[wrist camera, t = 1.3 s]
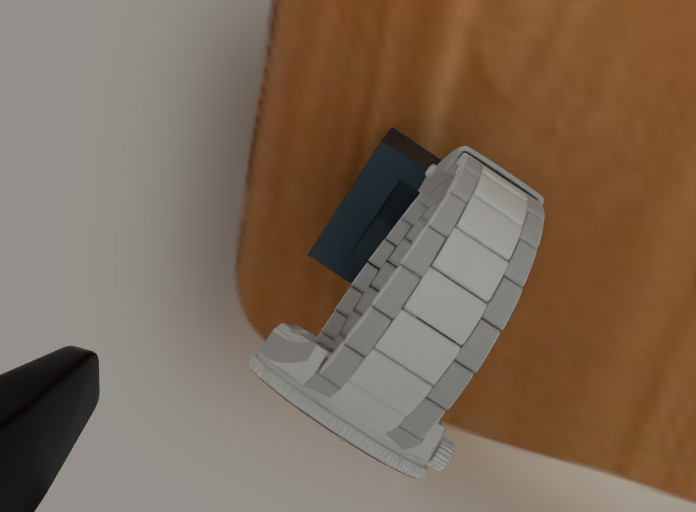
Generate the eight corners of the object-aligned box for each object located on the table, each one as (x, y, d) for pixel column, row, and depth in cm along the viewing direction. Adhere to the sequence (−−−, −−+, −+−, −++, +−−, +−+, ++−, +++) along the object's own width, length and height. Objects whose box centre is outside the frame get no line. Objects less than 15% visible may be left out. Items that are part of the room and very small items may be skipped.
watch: (300, 268, 23) (172, 449, 13) (421, 81, 20) (382, 120, 10) (423, 348, 23) (396, 590, 13) (561, 175, 20) (667, 310, 10)
